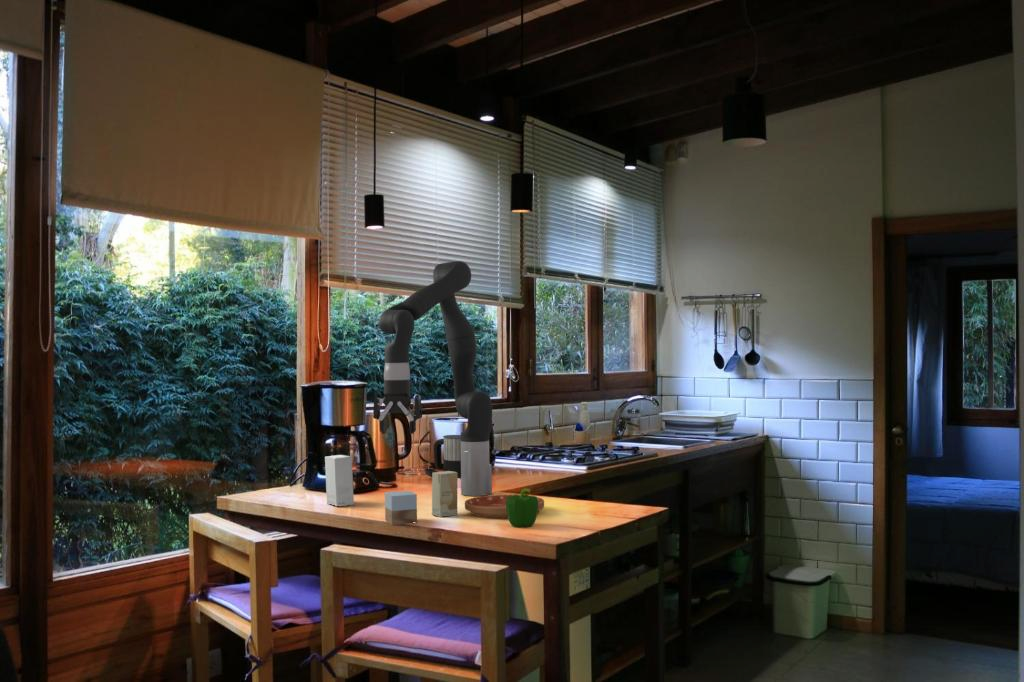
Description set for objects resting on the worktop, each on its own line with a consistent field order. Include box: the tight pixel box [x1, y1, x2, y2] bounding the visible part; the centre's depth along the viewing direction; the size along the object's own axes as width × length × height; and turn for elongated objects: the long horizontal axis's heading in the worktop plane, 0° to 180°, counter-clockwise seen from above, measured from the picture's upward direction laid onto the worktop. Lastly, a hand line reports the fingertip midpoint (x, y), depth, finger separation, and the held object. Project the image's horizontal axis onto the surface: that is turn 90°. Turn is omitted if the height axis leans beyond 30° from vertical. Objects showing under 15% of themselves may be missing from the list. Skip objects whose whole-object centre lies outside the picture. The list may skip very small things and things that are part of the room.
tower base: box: [384, 506, 418, 526], centre depth 251 cm, size 7×7×4 cm
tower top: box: [384, 490, 418, 511], centre depth 251 cm, size 7×7×4 cm
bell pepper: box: [506, 488, 539, 528], centre depth 244 cm, size 8×8×10 cm
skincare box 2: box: [431, 471, 458, 518], centre depth 260 cm, size 6×4×12 cm
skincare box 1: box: [324, 454, 355, 507], centre depth 278 cm, size 8×6×15 cm
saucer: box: [464, 494, 545, 519], centre depth 263 cm, size 23×23×4 cm
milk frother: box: [423, 434, 461, 479], centre depth 332 cm, size 14×16×15 cm
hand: (397, 433), depth 267 cm, fingers open, 8 cm apart
